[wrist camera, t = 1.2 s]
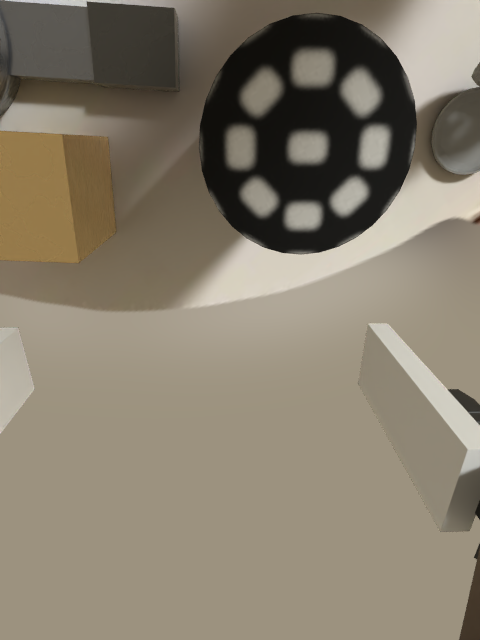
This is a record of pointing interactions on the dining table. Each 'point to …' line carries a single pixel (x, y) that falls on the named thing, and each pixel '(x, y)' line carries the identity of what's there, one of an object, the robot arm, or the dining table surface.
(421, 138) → the dining table surface
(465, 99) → the pocket watch
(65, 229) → the golden tan block
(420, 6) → the dining table surface
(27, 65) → the grey handled disc
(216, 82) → the white-spotted black cylinder
